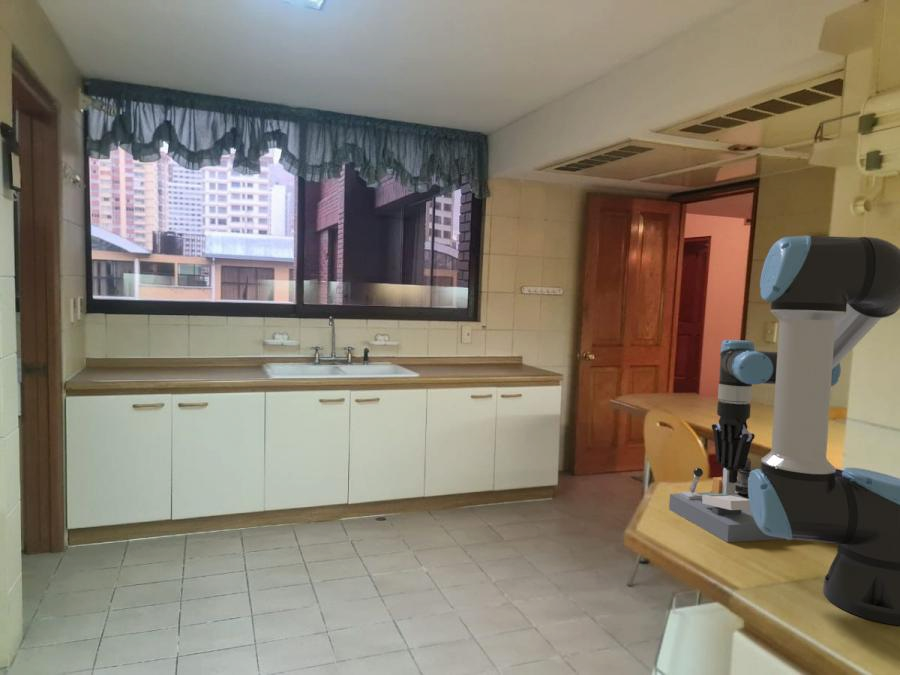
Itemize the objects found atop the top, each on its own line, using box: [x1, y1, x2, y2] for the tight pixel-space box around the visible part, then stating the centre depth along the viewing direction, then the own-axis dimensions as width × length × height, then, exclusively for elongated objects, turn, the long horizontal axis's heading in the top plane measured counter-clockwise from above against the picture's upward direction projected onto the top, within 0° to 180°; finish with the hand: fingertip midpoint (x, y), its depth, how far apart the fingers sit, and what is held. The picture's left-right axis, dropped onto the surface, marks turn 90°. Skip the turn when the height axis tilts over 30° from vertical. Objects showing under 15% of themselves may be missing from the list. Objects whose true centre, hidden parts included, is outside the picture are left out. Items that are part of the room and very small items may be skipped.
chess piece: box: [735, 457, 752, 499], centre depth 167 cm, size 6×6×12 cm
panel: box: [668, 490, 787, 543], centre depth 146 cm, size 22×18×6 cm
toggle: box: [689, 467, 704, 493], centre depth 151 cm, size 2×2×7 cm
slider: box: [711, 476, 723, 494], centre depth 154 cm, size 2×4×4 cm, turn 103°
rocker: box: [702, 494, 751, 510], centre depth 141 cm, size 10×6×2 cm, turn 13°
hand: (728, 493), depth 152 cm, fingers closed
